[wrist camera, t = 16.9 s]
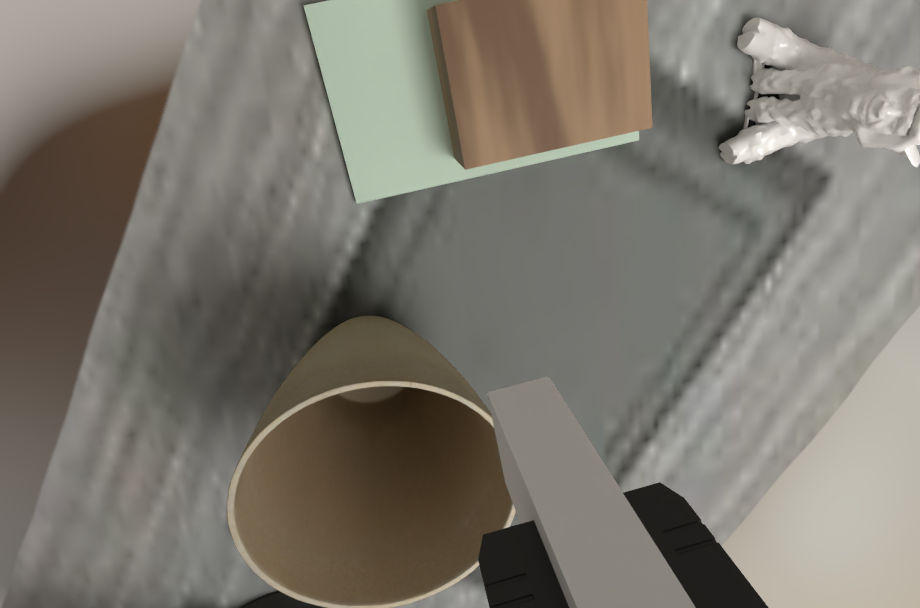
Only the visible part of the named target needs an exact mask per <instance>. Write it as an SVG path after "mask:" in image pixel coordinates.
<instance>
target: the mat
mask: <svg viewBox="0 0 920 608" xmlns="http://www.w3.org/2000/svg"><path fill="white" fill-rule="evenodd" d="M453 1H458V0H328V1H323V2H318V3H313V4H308V5H304V9H305V13H306V16H307V20H308V24H309V28H310V31H311V35H312V39H313V43H314V46H315V50H316V54H317V58H318V61H319V65H320V69H321V72H322V76H323V80H324V84H325V87H326V91H327V95H328V99H329V102H330V106H331V110H332V114H333V117H334V121H335V125H336V128H337V132H338V136H339V140H340V143H341V147H342V151H343V155H344V158H345V162H346V166H347V170H348V173H349V177H350V181H351V184H352V188H353V192H354V196H355V199H356V203H357V204H359V203H363V202H368V201H372V200H377V199H381V198H385V197H390V196H394V195H399V194H403V193H408V192H412V191H416V190H421V189H425V188H430V187H434V186H439V185H443V184H447V183H452V182H456V181H461V180H465V179H469V178H474V177H478V176H483V175H487V174H492V173H496V172H500V171H505V170H509V169H514V168H518V167H523V166H527V165H531V164H536V163H540V162H545V161H549V160H553V159H558V158H562V157H567V156H571V155H576V154H580V153H584V152H589V151H593V150H598V149H602V148H607V147H611V146H615V145H620V144H624V143H629V142H633V141H638V140H639V131H635V132H631V133H627V134H622V135H618V136H613V137H609V138H604V139H600V140H595V141H591V142H587V143H582V144H578V145H573V146H569V147H564V148H560V149H555V150H551V151H547V152H542V153H538V154H533V155H529V156H524V157H520V158H515V159H511V160H507V161H502V162H498V163H493V164H489V165H484V166H480V167H475V168H471V169H467V170H465V169H464V168H463V167H462V166H461V165H460V164H459V163H458V162H457V161H456V160H455V158H454V153H453V147H452V142H451V137H450V131H449V126H448V121H447V115H446V110H445V105H444V99H443V94H442V89H441V83H440V78H439V73H438V67H437V62H436V57H435V51H434V46H433V41H432V35H431V30H430V25H429V19H428V14H427V10H428V9H430V8H431V7H433V6H435V5H438V4H443V3H448V2H453Z"/></svg>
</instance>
